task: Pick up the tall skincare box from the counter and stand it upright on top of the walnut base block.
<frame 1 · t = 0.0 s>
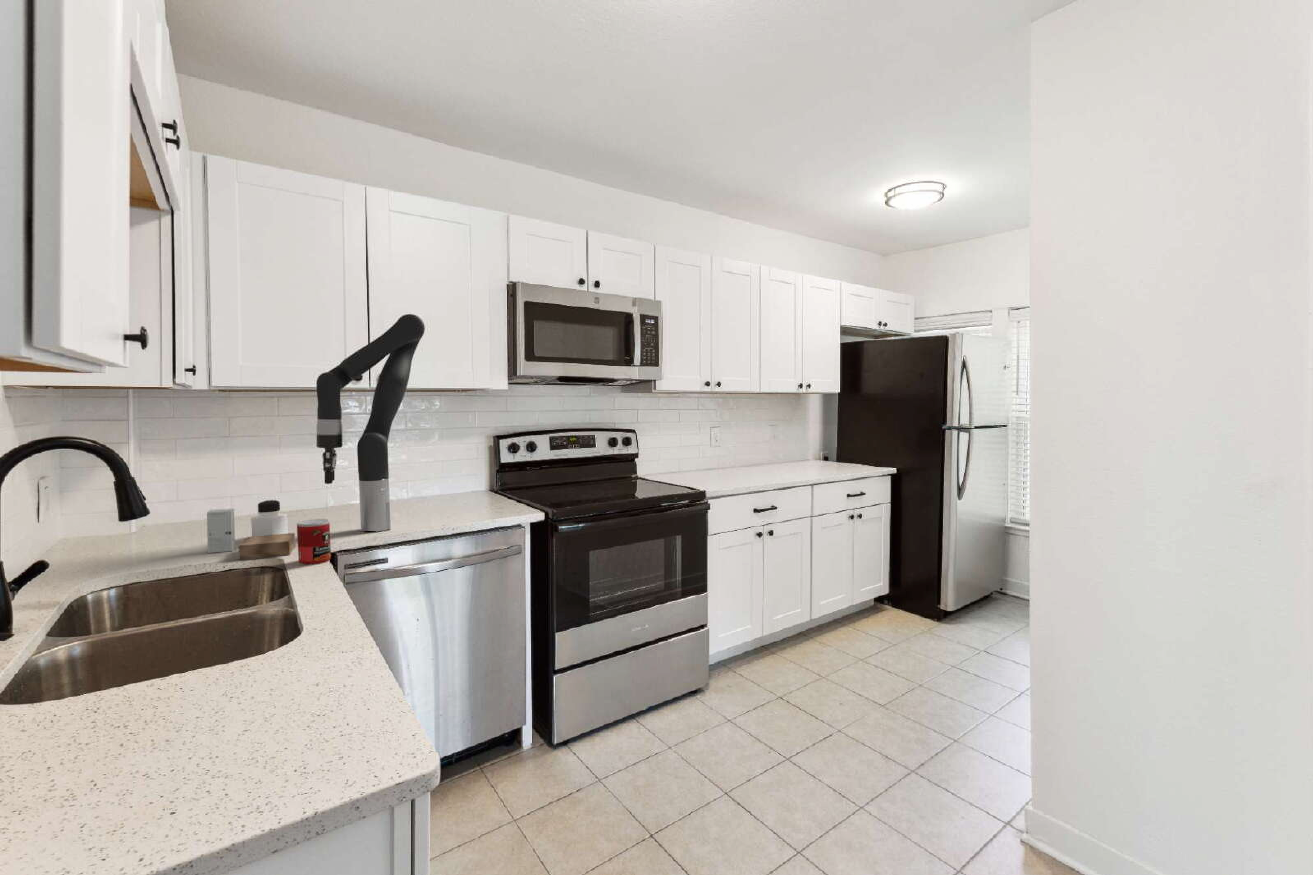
hand: (329, 482, 198), 17 cm above the worktop, tool pointing down, fingers open, 8 cm apart
medicine bottle: (270, 538, 194), on the worktop
walnut base: (268, 552, 174), on the worktop
canned food: (315, 561, 165), on the worktop
skincare box: (222, 551, 177), on the worktop
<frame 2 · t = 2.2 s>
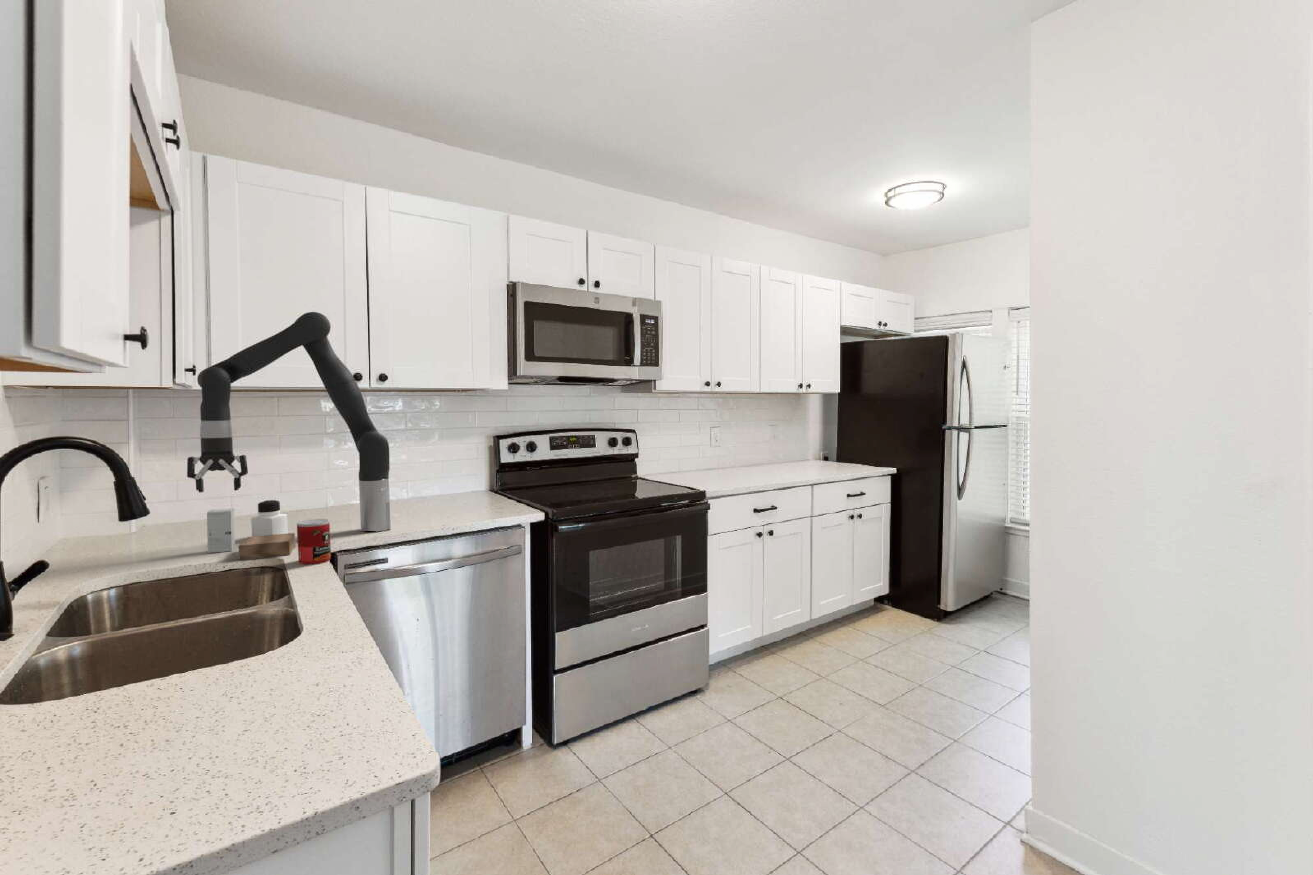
hand: (218, 491, 176), 18 cm above the worktop, tool pointing down, fingers open, 8 cm apart
nothing on the worktop moved.
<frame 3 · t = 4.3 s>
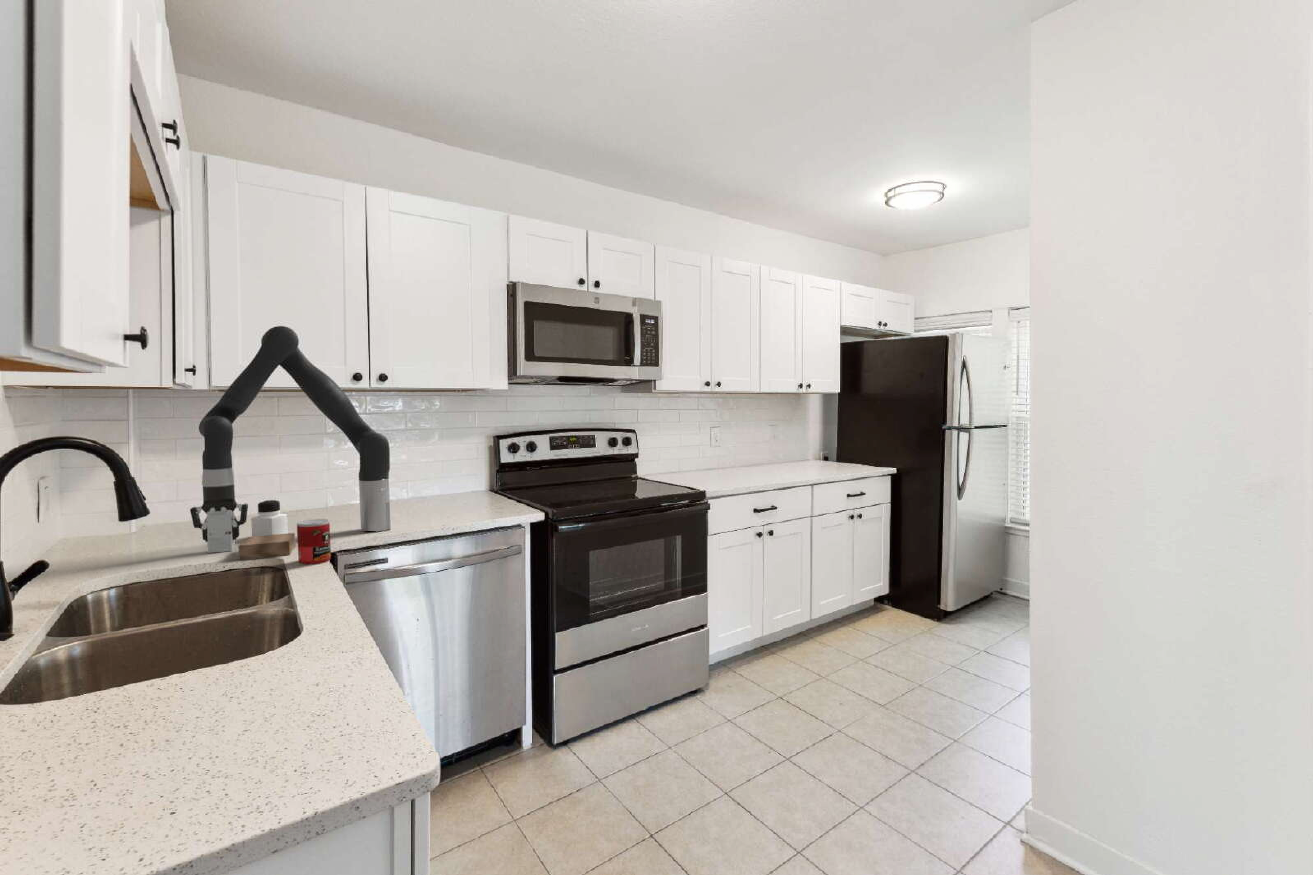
hand: (221, 540, 177), 3 cm above the worktop, tool pointing down, fingers closed on skincare box, 6 cm apart
skincare box: (222, 551, 177), on the worktop, touching gripper
everything else where it was.
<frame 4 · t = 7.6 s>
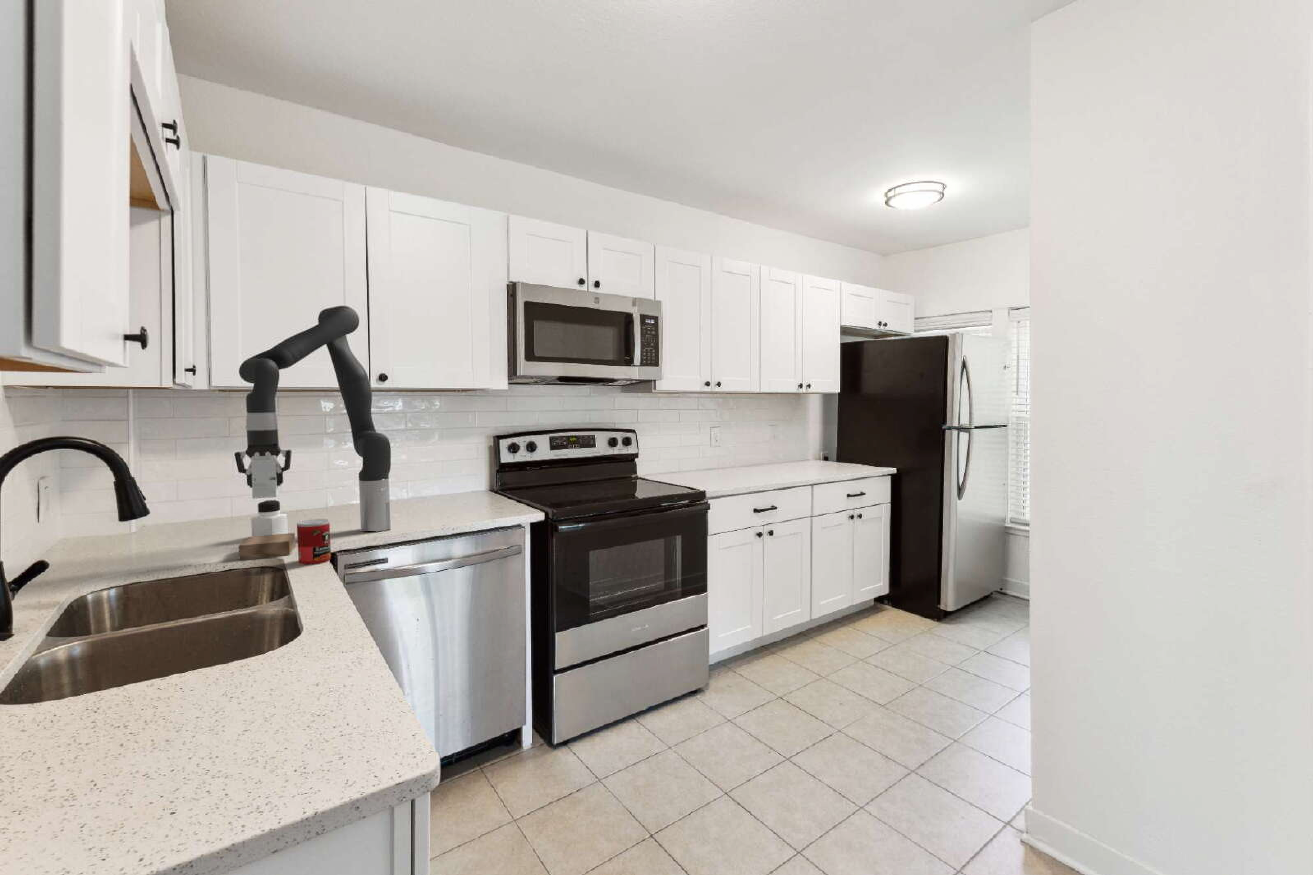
hand: (265, 486, 173), 19 cm above the worktop, tool pointing down, fingers closed on skincare box, 6 cm apart
skincare box: (266, 497, 174), point 16 cm above the worktop, touching gripper
everything else where it was.
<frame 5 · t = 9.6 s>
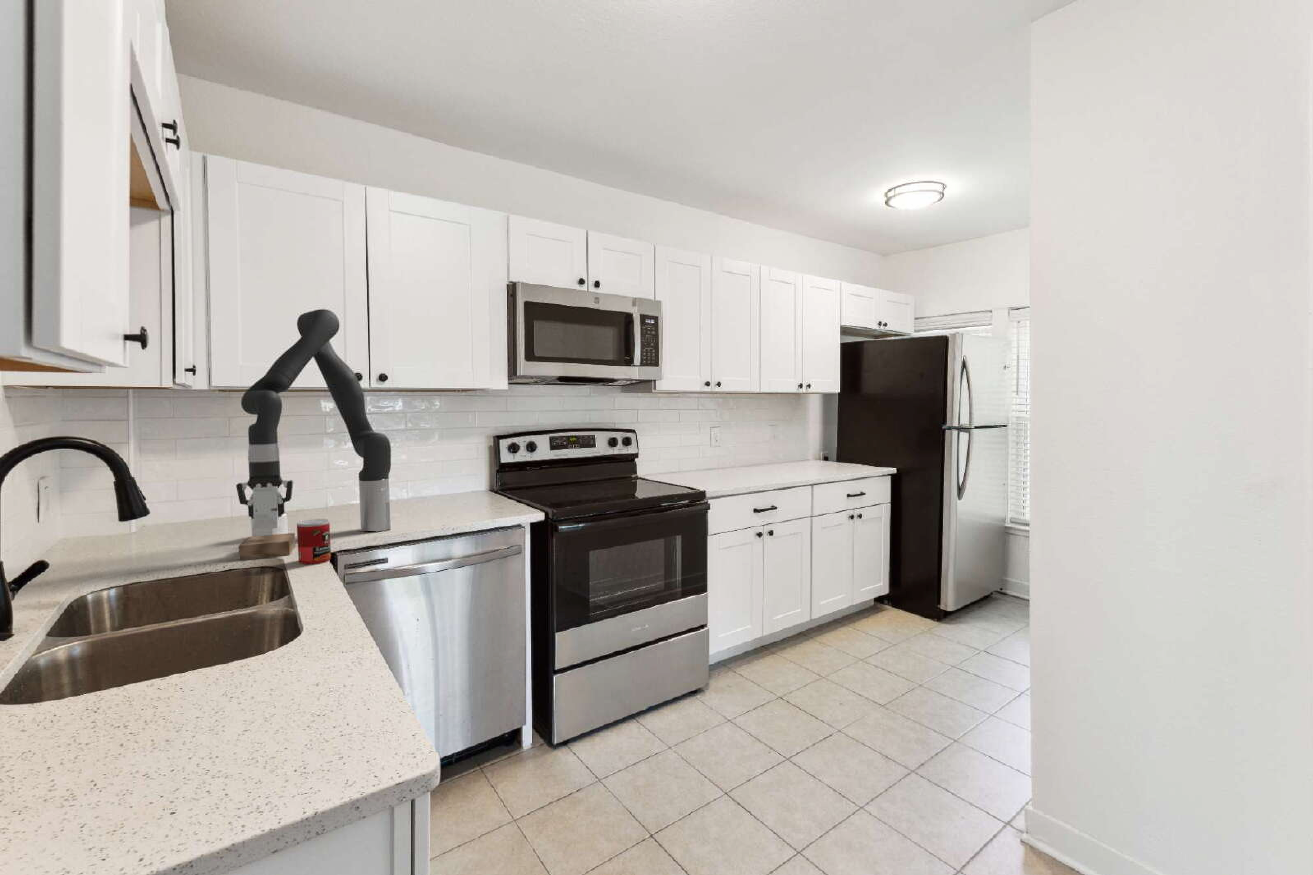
hand: (266, 517, 174), 10 cm above the worktop, tool pointing down, fingers closed on skincare box, 6 cm apart
skincare box: (267, 528, 174), point 7 cm above the worktop, touching gripper
everything else where it was.
when the fingers open (8 cm above the worktop, at t = 11.1 s): skincare box drops 1 cm, resting on walnut base.
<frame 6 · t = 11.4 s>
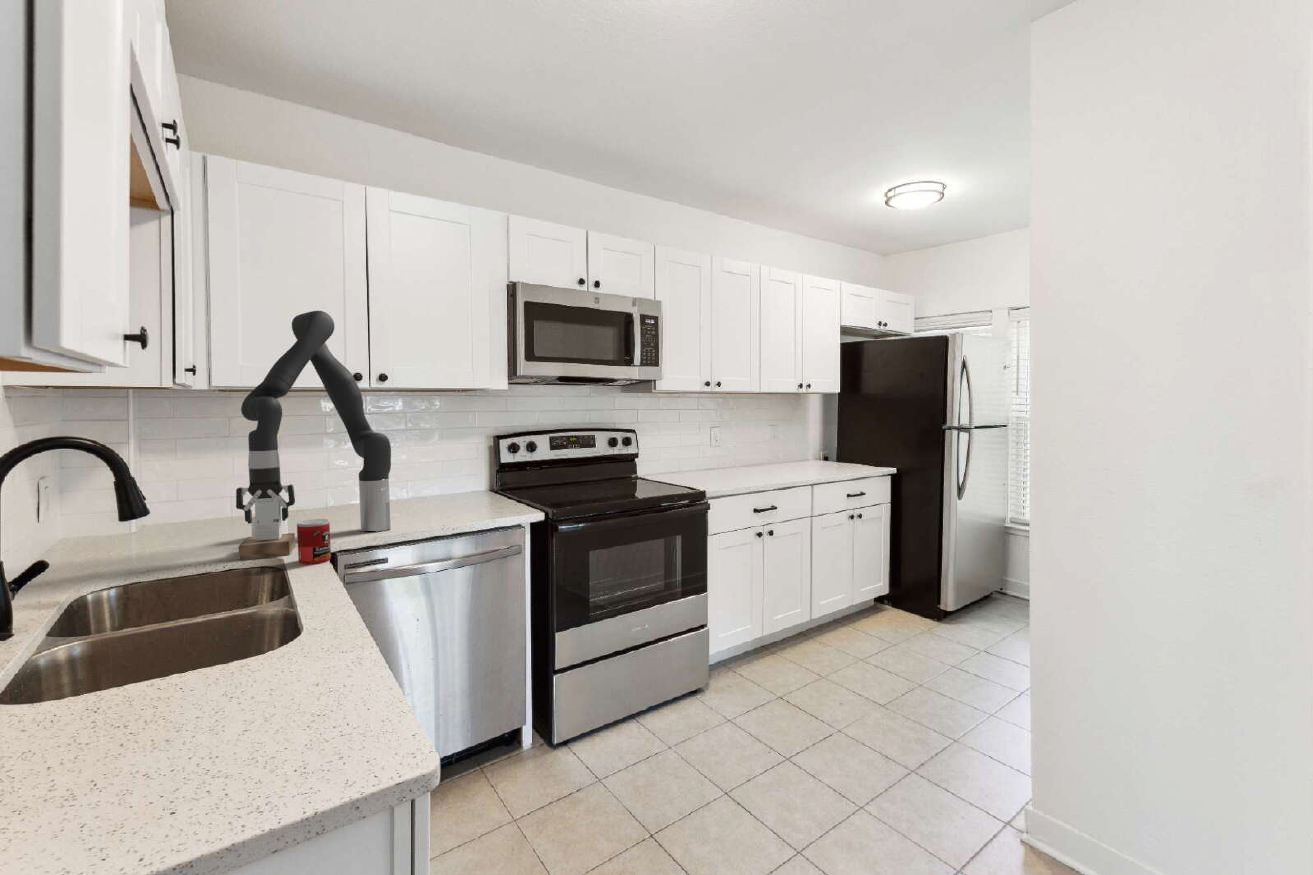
hand: (267, 521, 174), 9 cm above the worktop, tool pointing down, fingers open, 8 cm apart
skincare box: (269, 539, 174), point 4 cm above the worktop, touching walnut base
everything else where it was.
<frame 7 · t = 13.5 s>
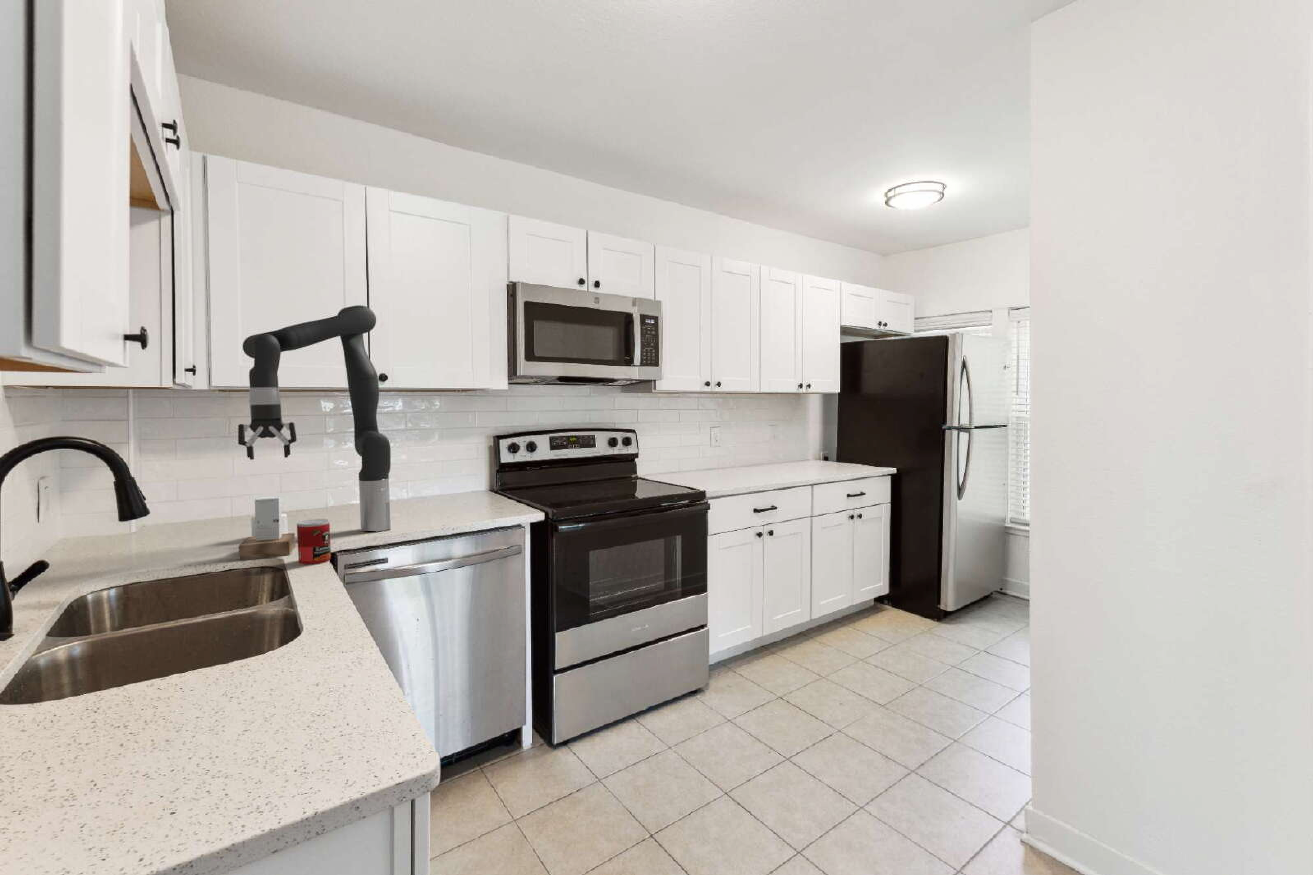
hand: (269, 458, 176), 27 cm above the worktop, tool pointing down, fingers open, 8 cm apart
nothing on the worktop moved.
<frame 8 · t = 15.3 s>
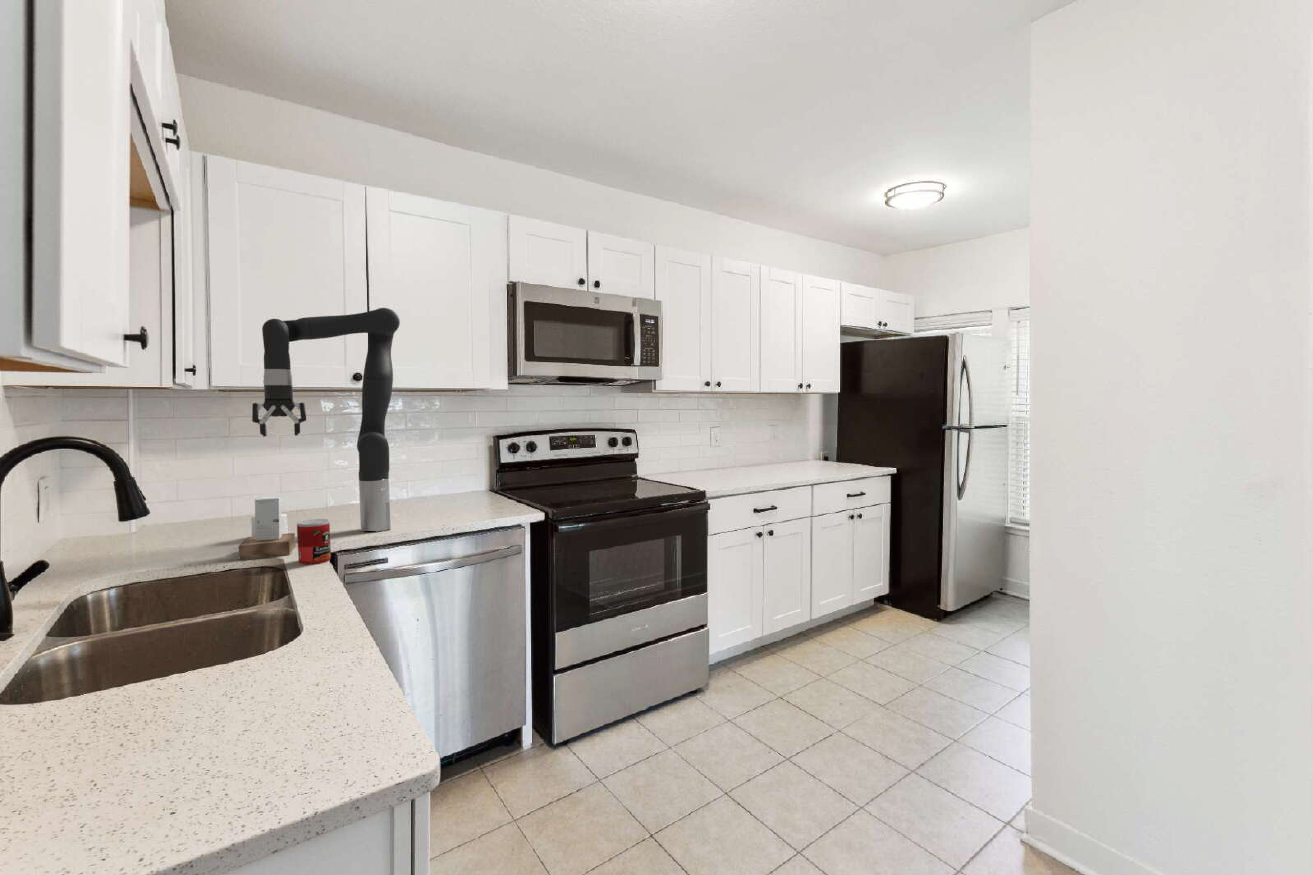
hand: (280, 435, 189), 33 cm above the worktop, tool pointing down, fingers open, 8 cm apart
nothing on the worktop moved.
at the end: skincare box inside the target area on the walnut base (0.4 cm from its centre), point 3.8 cm above the walnut base's base; skincare box tilted 0°; the gripper is holding nothing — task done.
